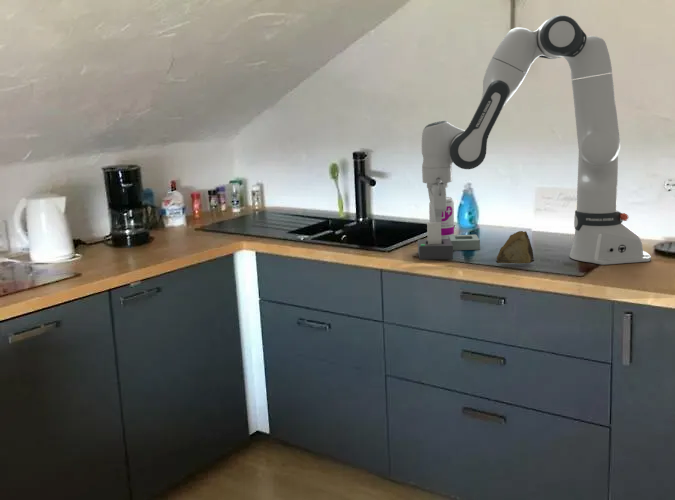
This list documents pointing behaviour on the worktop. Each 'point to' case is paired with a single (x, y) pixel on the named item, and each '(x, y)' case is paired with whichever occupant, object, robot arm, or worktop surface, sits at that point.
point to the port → (435, 250)
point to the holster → (465, 242)
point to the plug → (434, 233)
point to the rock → (516, 249)
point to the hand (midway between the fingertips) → (438, 221)
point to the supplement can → (444, 218)
